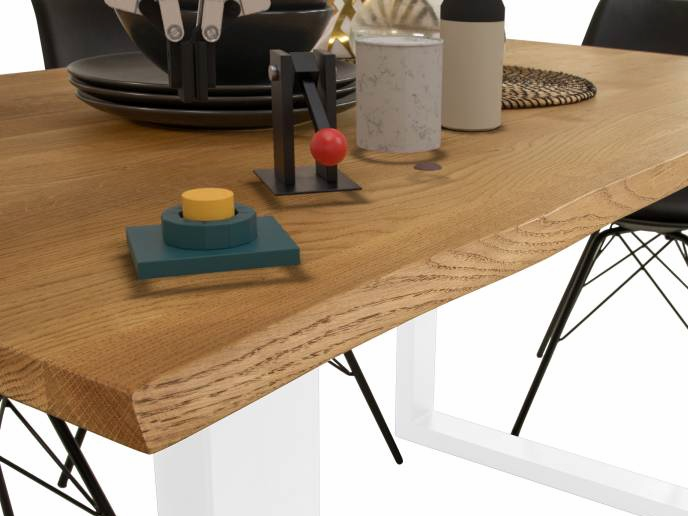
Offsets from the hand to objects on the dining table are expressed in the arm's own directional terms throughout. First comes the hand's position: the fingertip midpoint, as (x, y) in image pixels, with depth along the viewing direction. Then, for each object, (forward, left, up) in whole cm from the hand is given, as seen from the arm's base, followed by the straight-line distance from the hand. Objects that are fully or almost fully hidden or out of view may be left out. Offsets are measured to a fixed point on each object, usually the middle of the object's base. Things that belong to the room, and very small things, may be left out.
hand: (192, 99), depth 69 cm
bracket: (+13, +20, -12) cm, 26 cm away
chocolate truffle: (+26, +22, -12) cm, 36 cm away
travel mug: (+41, +47, -12) cm, 63 cm away
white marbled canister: (+27, +34, -12) cm, 45 cm away
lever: (+13, +16, -5) cm, 21 cm away
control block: (+1, 0, -12) cm, 12 cm away
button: (+1, 0, -8) cm, 8 cm away
